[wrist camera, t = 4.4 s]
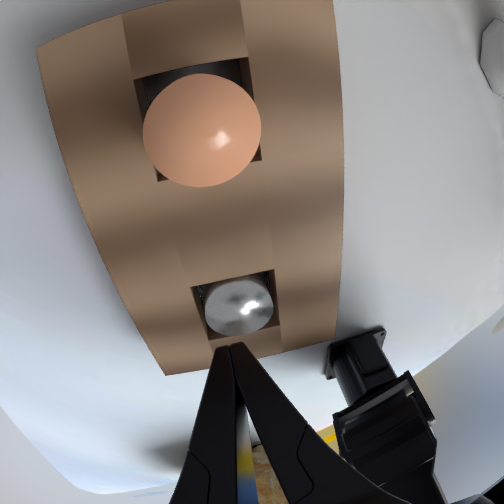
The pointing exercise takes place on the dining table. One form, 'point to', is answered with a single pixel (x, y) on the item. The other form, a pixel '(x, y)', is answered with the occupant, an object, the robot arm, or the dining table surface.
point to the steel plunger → (237, 304)
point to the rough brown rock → (266, 479)
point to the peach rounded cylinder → (201, 130)
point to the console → (218, 196)
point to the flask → (494, 56)
